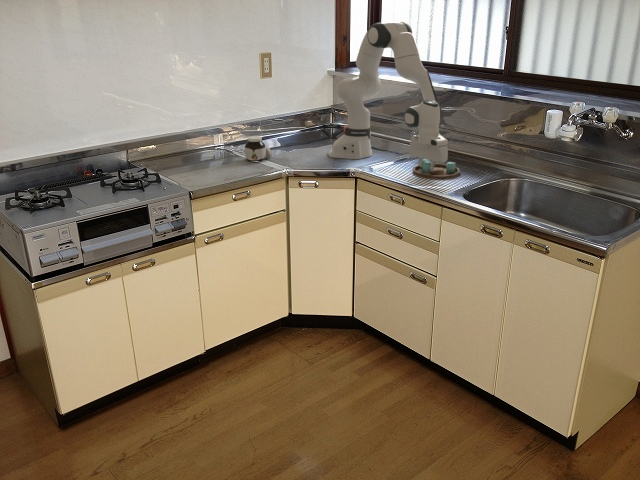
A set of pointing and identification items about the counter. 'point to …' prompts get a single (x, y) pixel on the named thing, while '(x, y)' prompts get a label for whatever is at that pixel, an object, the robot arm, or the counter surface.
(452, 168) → the bead
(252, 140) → the spread jar
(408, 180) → the counter surface
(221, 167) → the counter surface
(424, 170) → the bead
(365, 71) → the robot arm
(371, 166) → the counter surface
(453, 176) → the ring tray
